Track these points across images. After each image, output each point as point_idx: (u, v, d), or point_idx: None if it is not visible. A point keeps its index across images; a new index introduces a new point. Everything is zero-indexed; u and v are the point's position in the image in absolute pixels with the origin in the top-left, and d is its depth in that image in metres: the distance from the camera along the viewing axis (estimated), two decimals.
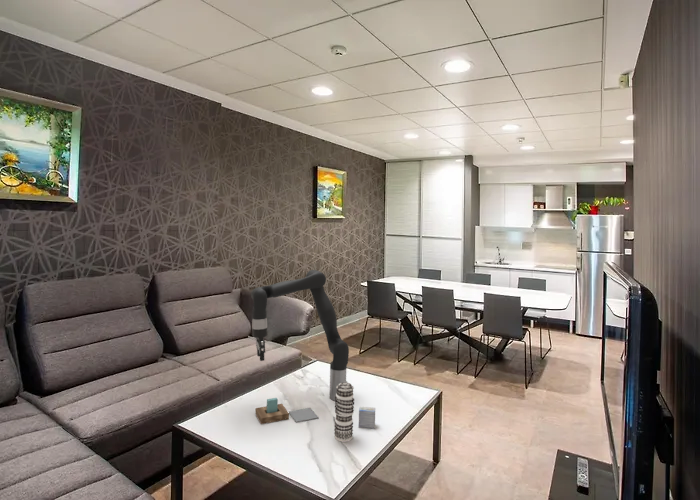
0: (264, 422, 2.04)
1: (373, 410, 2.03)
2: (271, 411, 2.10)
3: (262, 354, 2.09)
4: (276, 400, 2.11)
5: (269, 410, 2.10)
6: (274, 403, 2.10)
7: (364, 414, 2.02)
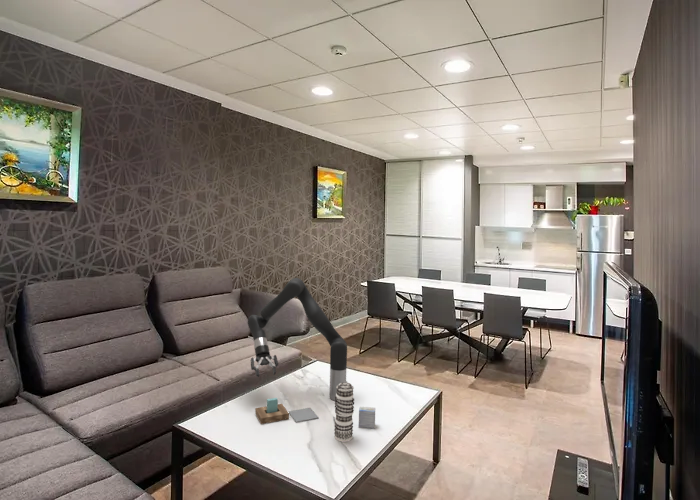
0: (264, 422, 2.04)
1: (373, 410, 2.03)
2: (271, 411, 2.10)
3: (255, 370, 2.20)
4: (276, 400, 2.11)
5: (269, 410, 2.10)
6: (274, 403, 2.10)
7: (364, 414, 2.02)
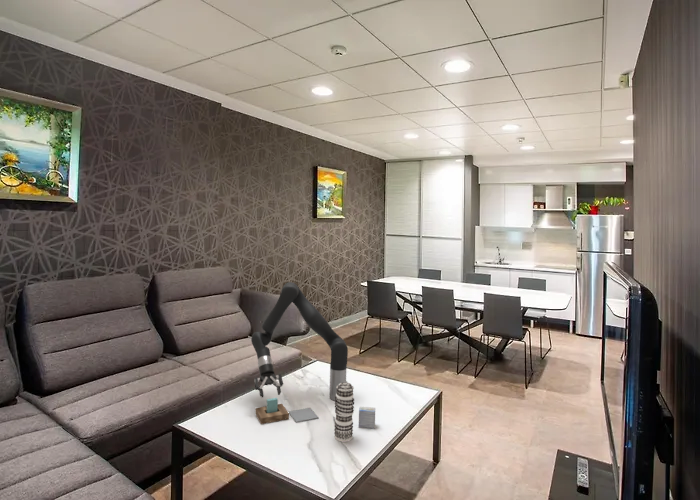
0: (264, 422, 2.04)
1: (373, 410, 2.03)
2: (271, 411, 2.10)
3: (259, 390, 2.12)
4: (276, 400, 2.11)
5: (269, 410, 2.10)
6: (274, 403, 2.10)
7: (364, 414, 2.02)
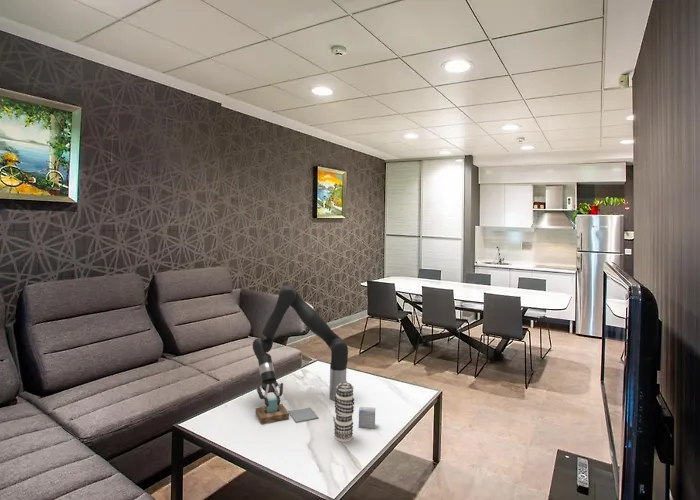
0: (264, 422, 2.04)
1: (373, 410, 2.03)
2: (271, 411, 2.10)
3: (264, 399, 2.09)
4: (276, 400, 2.11)
5: (269, 410, 2.09)
6: (274, 403, 2.10)
7: (364, 414, 2.02)
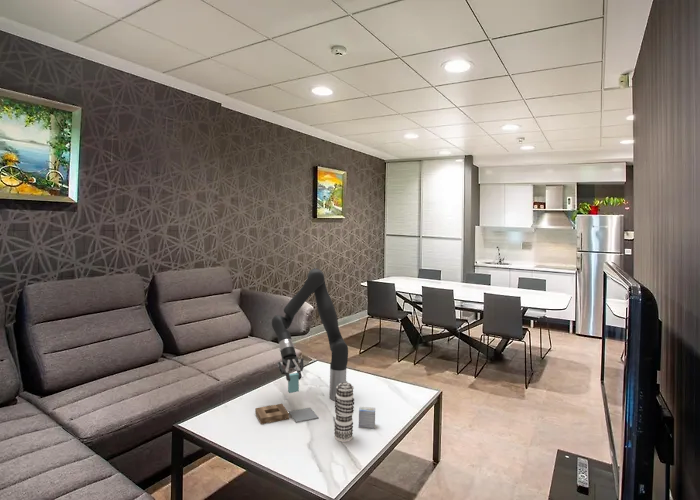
0: (264, 422, 2.04)
1: (373, 410, 2.03)
2: (292, 386, 2.11)
3: (285, 374, 2.10)
4: (297, 375, 2.11)
5: (290, 385, 2.10)
6: (296, 378, 2.11)
7: (364, 414, 2.02)
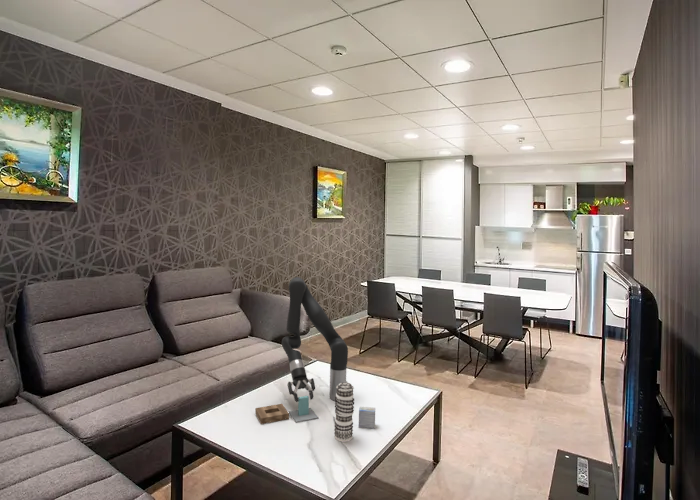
0: (264, 422, 2.04)
1: (373, 410, 2.03)
2: (302, 409, 2.12)
3: (294, 395, 2.11)
4: (307, 398, 2.13)
5: (301, 408, 2.12)
6: (306, 401, 2.13)
7: (364, 414, 2.02)
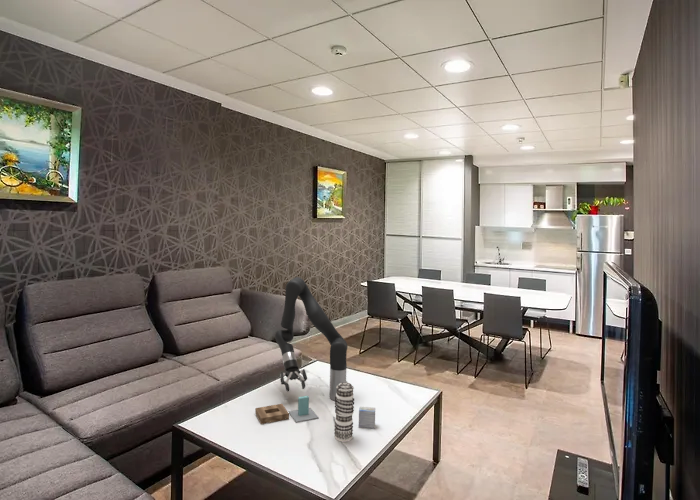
0: (264, 422, 2.04)
1: (373, 410, 2.03)
2: (302, 409, 2.12)
3: (285, 385, 2.23)
4: (307, 398, 2.13)
5: (301, 408, 2.12)
6: (306, 401, 2.13)
7: (364, 414, 2.02)
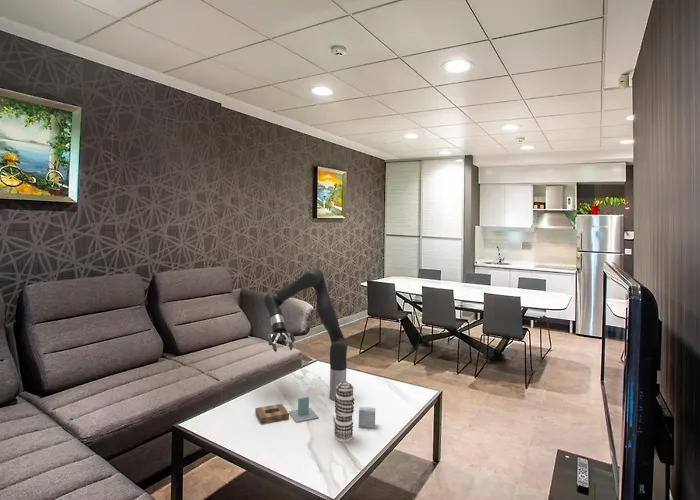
0: (264, 422, 2.04)
1: (373, 410, 2.03)
2: (302, 409, 2.12)
3: (272, 345, 2.26)
4: (307, 398, 2.13)
5: (301, 408, 2.12)
6: (306, 401, 2.13)
7: (364, 414, 2.02)
